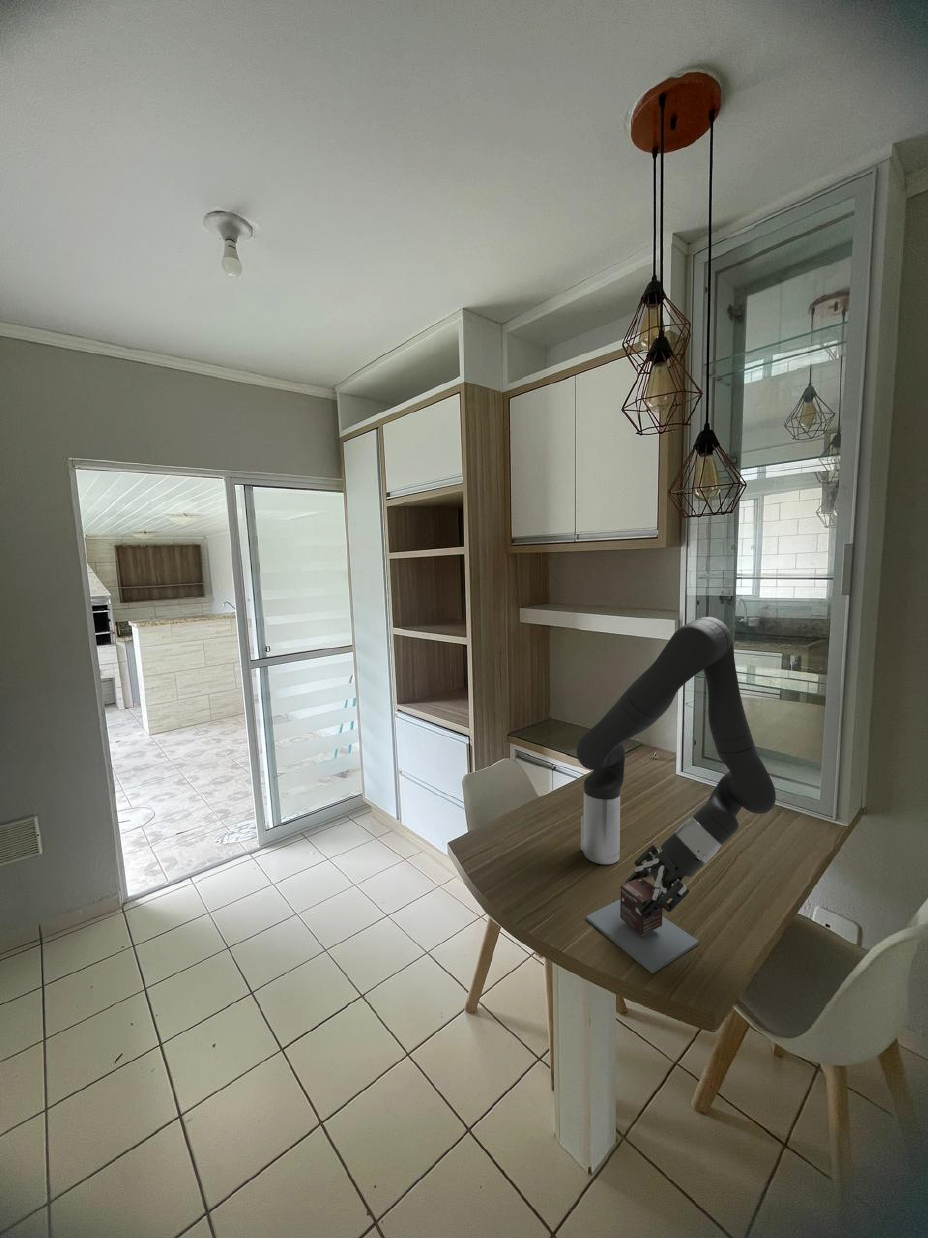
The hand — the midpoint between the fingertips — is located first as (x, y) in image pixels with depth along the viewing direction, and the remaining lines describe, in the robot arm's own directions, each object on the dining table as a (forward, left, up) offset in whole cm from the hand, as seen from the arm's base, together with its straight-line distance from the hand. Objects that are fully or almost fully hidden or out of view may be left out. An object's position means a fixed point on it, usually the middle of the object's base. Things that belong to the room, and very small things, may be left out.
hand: (634, 901), depth 99 cm
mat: (+1, +1, -7) cm, 7 cm away
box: (+1, +1, -5) cm, 5 cm away
